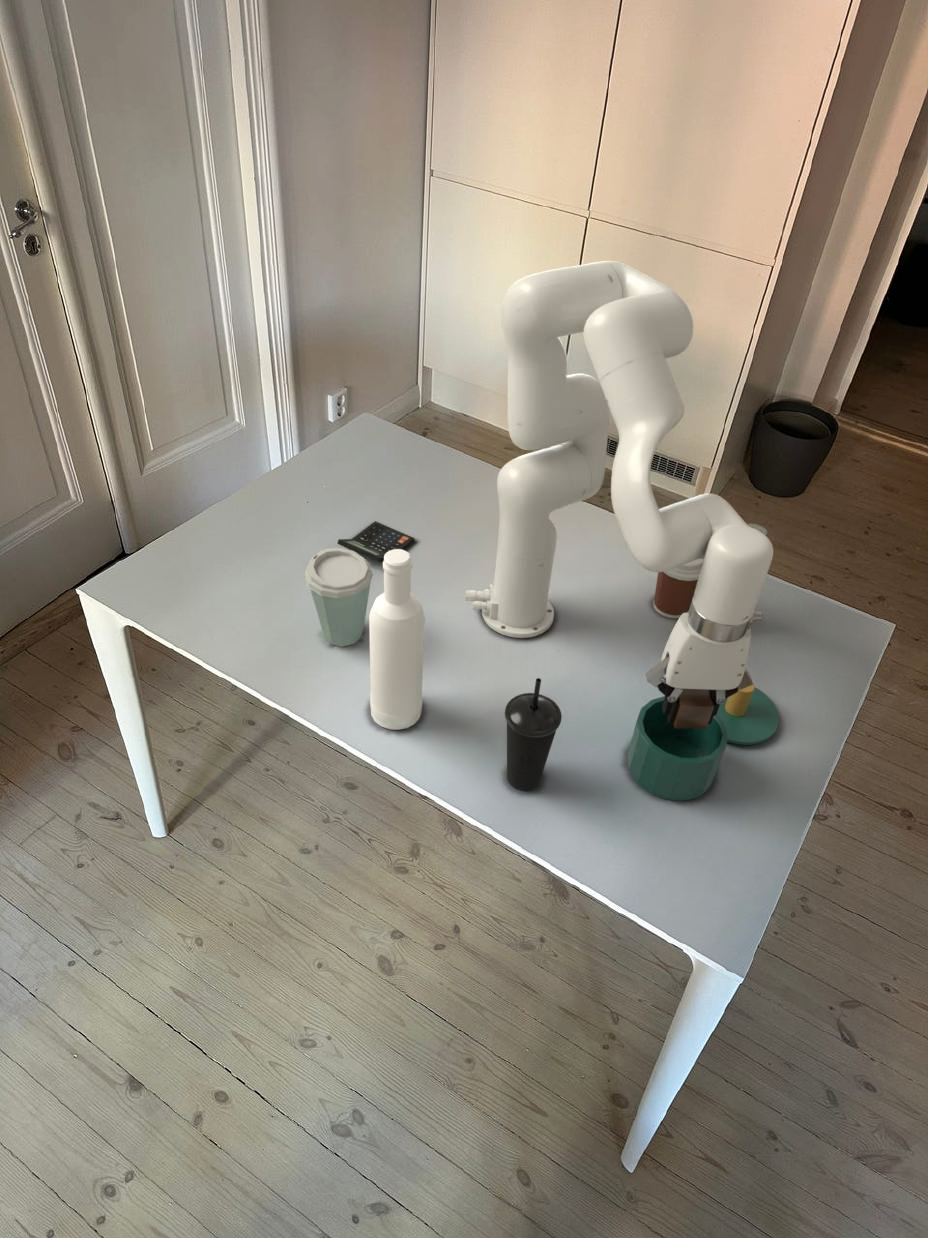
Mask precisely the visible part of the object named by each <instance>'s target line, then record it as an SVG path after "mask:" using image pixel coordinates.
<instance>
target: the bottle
mask: <svg viewBox="0 0 928 1238" xmlns="http://www.w3.org/2000/svg"><path fill="white" fill-rule="evenodd" d="M382 569H383V592H382V593H380V595H378V596H377V597H376V598H375V600H374V602H373V604H372V606H371V608H370V611H369V614H368V624H369V625H368V627H369V629H368V631H369V671H370V672H369V677H370V678H369V679H370V680H369V681H370V682H369V684H370V695H369V705H370V717H372V719H373V721H374V722H375V723H376V724H378V726H380V727H382V728H385V729H388V730H395V731H396V730H397V731H398V730H404V729H409V728H410V727H411V726H412V727H413V726H414V725H415V724H416V723H418V721H419V720H420V717H421V715H422V708H423V683H424V682H423V680H424V653H425V629H426V628H425V624H426V617H425V611H424V608H423V606H422V603H421V602H420V600H419V598H418V597H417V596H416V595H414V594H413V593H412V592H411V591H412V587H411V585H412V569H413V561H412V555H411V554H410V553H409V552H408V551H406V549H405V550H401V549H394V550H391V551H388V552H387V553H386V554H385V556H384V561H383V562H382Z"/></svg>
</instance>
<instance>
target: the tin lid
mask: <svg viewBox="0 0 928 1238" xmlns="http://www.w3.org/2000/svg"><path fill="white" fill-rule="evenodd" d="M717 715H718V716H719V717H720V719H721V720H722V721H723V722H724V724H725V727H726V731H727V734H728V739H727V743H731V744H735V745H744V746H745V745H746V746H747V745H750V746H751V745H757V744H761V743H763V742H766V741H767V740H769V739H771V738H772V737H773V736H774V734H775V733H776V732H777V730H778V727H779V723H780V714H779V711H778V708H777V707H776V705H775V704H774V702H773V701H772V700H771V698H770V697H769V696H768V695H766V694H765V693H764V692H763V691H761V690H760V689H758V688H757V687H756V685H755V683H754V682H753V684H752V685H751V686H749V687H747V688H744V689H742V690H738V692H737V693H735V694H733V695H731V696H730V697H728V698H726V699H725V702H724V703H723V704H720V706H719V709H718V712H717Z"/></svg>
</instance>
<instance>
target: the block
mask: <svg viewBox="0 0 928 1238" xmlns="http://www.w3.org/2000/svg"><path fill="white" fill-rule="evenodd" d="M678 701H679V707H678V710H677V713H676V716H675V720H674V722H673V725H674V728H683V729H707V726H708V723H709V720H710V717H711V714H712V711H713V708H714V705H713V702H712V699H711V695H710V692H709V689H684V690H683V691H682V693H681V694H680V696H679V697H678Z"/></svg>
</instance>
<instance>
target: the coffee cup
mask: <svg viewBox="0 0 928 1238" xmlns="http://www.w3.org/2000/svg"><path fill="white" fill-rule="evenodd" d="M703 561H704V559H697V560H694V561H692V562H689V563H687V564H684V565H682V566H679V567H677V568H674V569H671V570H668V571H664V572H657V577H656V585H655V591H654V597H653V603H652V604H653V608H654V610H655V611H656V613H658V614H660V615H661V616H664V617H666V618H670V619H679V618H680V616H681V615H682V614H683V613H689V609H690V606H691V602H692V599H693V596H694V592H695V589H696V585H697V582H698V578H699V575H700V571H701V568H702V564H703Z"/></svg>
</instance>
